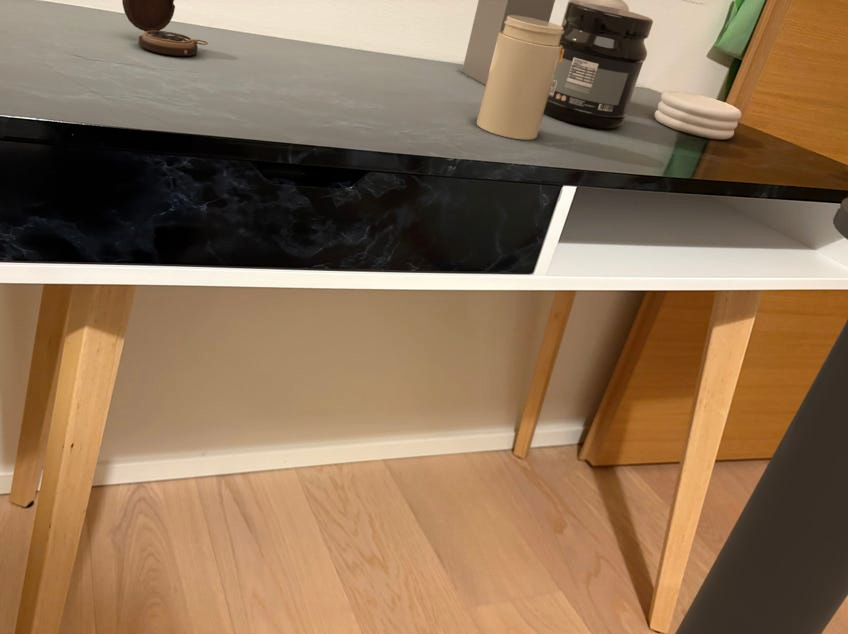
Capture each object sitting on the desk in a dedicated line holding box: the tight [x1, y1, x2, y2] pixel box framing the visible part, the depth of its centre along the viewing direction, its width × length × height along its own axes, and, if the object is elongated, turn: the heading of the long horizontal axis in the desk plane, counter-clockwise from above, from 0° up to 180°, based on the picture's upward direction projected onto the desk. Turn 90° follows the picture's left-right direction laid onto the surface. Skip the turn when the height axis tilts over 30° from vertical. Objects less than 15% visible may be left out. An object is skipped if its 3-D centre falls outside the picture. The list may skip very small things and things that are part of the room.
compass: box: [121, 0, 209, 57], centre depth 85 cm, size 8×8×7 cm
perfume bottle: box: [461, 0, 556, 86], centre depth 102 cm, size 7×7×18 cm
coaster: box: [654, 90, 742, 141], centre depth 102 cm, size 10×10×4 cm
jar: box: [476, 15, 564, 141], centre depth 81 cm, size 6×6×11 cm
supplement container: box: [544, 1, 654, 130], centre depth 93 cm, size 10×10×12 cm
